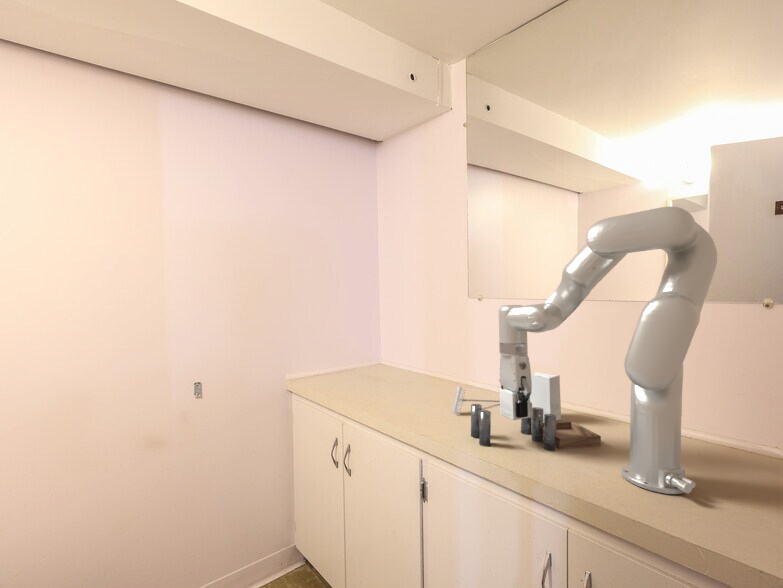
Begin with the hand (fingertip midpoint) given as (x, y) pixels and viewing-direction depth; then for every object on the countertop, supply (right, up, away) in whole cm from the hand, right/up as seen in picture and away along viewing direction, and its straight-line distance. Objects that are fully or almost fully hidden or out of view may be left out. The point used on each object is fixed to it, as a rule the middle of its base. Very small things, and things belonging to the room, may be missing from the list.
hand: (515, 412), depth 109 cm
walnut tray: (+16, -9, +4) cm, 19 cm away
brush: (-2, -9, +32) cm, 33 cm away
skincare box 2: (+17, -9, +21) cm, 28 cm away
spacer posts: (-1, -8, +1) cm, 9 cm away
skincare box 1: (0, -1, 0) cm, 1 cm away
